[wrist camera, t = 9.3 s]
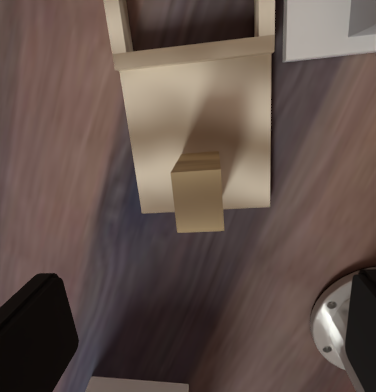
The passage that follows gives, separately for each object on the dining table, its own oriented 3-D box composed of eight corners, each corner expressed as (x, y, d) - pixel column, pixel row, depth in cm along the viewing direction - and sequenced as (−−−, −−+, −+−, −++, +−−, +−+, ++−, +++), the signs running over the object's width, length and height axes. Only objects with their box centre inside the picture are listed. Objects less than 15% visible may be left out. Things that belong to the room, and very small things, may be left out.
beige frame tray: (267, 202, 24) (288, 242, 17) (144, 209, 25) (120, 248, 18) (269, -148, 16) (308, -316, 10) (94, -114, 17) (23, -243, 11)
